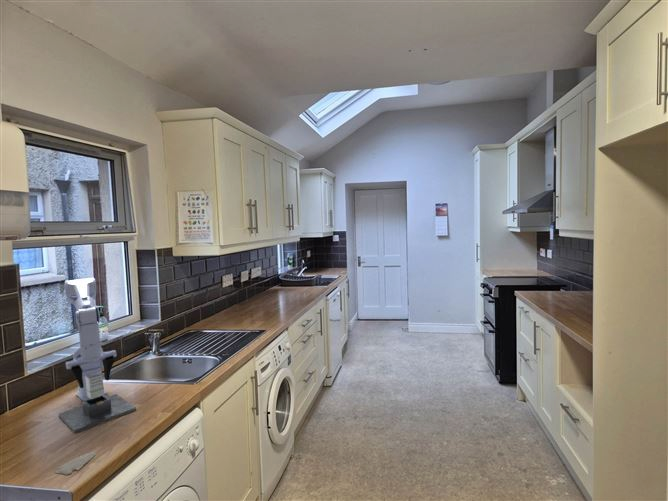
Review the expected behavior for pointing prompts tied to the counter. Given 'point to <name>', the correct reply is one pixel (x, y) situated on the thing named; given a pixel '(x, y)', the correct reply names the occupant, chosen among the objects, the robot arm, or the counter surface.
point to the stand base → (96, 412)
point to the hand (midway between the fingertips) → (94, 383)
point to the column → (94, 385)
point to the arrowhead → (75, 464)
